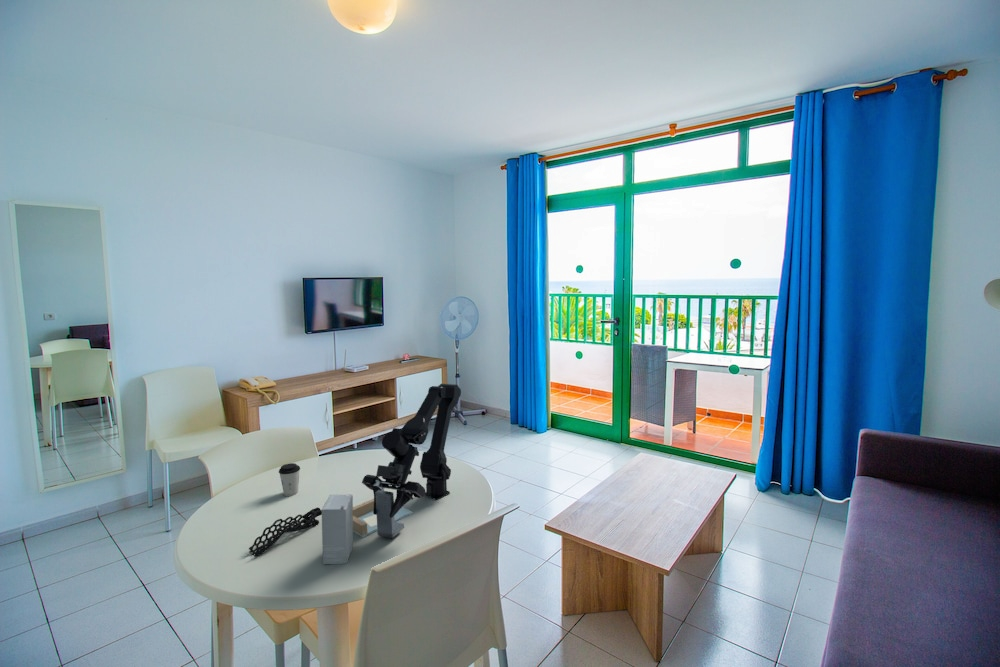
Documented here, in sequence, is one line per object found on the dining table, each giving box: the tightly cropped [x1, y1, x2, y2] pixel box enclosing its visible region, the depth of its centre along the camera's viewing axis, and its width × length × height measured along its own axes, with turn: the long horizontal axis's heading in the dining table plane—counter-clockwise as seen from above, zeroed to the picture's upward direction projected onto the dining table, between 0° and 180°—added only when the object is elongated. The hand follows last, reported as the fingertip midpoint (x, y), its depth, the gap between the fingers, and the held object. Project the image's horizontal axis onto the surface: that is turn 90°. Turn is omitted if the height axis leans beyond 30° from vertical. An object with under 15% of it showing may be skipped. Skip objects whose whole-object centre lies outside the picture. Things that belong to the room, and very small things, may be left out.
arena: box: [353, 498, 413, 538], centre depth 144 cm, size 18×12×4 cm, turn 139°
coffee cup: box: [278, 462, 301, 497], centre depth 163 cm, size 7×7×10 cm
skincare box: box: [320, 493, 354, 565], centre depth 124 cm, size 8×7×16 cm
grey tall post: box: [375, 490, 405, 539], centre depth 134 cm, size 6×5×13 cm
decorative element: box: [248, 506, 322, 557], centre depth 135 cm, size 22×5×6 cm, turn 151°
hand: (382, 515), depth 131 cm, fingers closed on grey tall post, 5 cm apart
